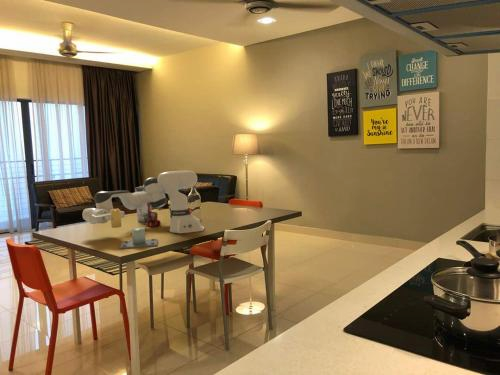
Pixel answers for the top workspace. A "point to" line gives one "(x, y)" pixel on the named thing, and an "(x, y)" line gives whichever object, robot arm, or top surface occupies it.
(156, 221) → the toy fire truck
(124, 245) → the tower base
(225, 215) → the top surface
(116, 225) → the round brick
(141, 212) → the juice carton
